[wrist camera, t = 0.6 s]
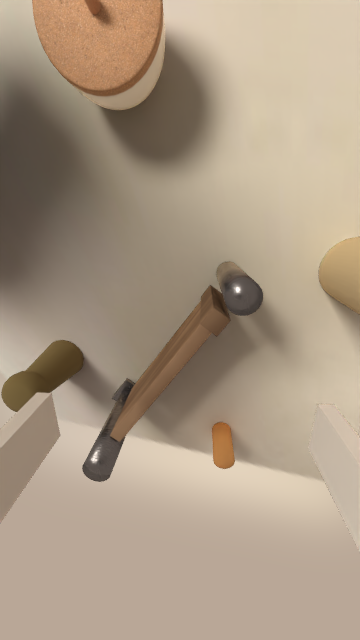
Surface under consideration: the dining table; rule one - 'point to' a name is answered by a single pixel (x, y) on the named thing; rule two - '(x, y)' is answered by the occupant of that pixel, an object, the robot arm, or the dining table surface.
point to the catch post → (222, 446)
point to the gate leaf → (173, 358)
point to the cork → (43, 374)
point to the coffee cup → (342, 273)
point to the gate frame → (98, 466)
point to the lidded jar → (104, 46)
